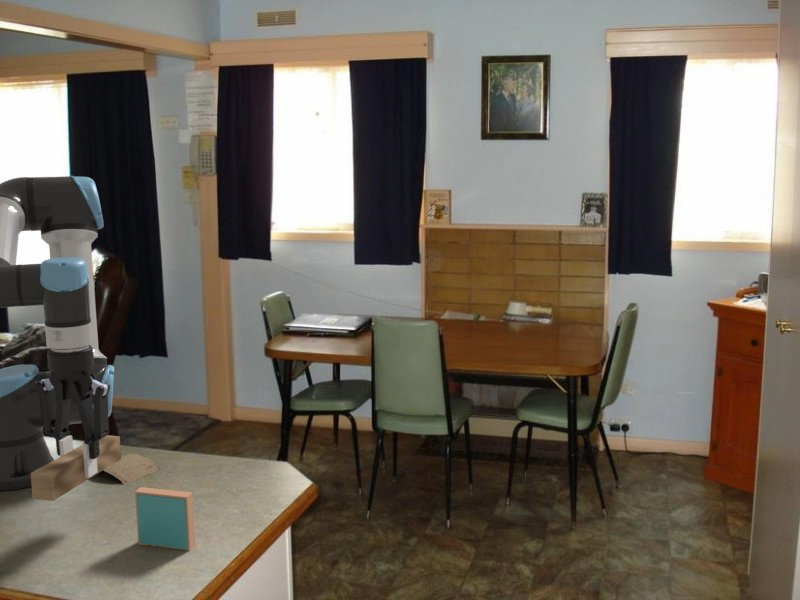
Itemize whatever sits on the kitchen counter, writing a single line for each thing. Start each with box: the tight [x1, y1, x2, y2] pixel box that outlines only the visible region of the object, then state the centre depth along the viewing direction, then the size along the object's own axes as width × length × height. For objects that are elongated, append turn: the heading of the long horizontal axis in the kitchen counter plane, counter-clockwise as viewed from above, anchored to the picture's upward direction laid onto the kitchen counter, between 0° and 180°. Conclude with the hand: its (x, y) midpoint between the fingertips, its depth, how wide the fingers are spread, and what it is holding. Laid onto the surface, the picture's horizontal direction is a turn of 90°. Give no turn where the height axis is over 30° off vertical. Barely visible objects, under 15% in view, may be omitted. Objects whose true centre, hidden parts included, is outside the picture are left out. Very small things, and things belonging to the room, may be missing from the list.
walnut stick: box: [31, 434, 122, 502], centre depth 152 cm, size 20×4×4 cm, turn 165°
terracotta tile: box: [134, 486, 196, 551], centre depth 150 cm, size 2×10×10 cm, turn 76°
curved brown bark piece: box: [103, 453, 162, 485], centre depth 183 cm, size 14×10×3 cm
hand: (79, 473), depth 153 cm, fingers closed on walnut stick, 4 cm apart
